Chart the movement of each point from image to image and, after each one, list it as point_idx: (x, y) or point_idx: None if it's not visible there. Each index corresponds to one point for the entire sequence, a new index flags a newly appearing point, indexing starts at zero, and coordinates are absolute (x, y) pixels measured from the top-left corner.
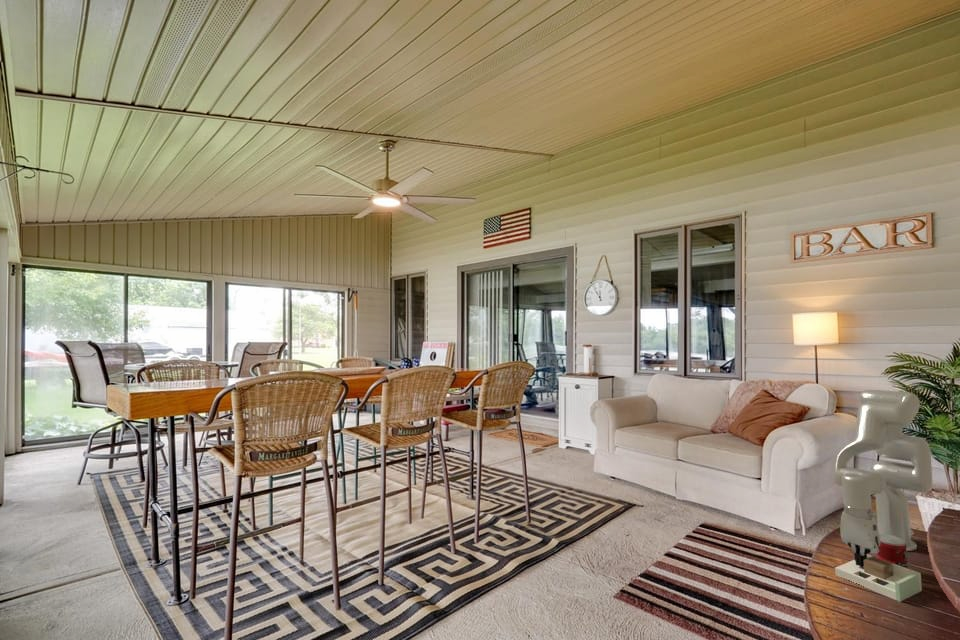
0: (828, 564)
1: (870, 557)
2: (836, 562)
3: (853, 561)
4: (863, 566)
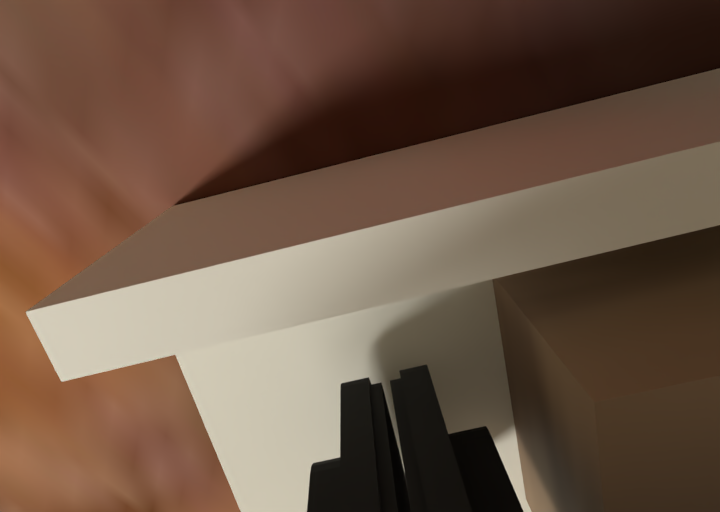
0: (83, 502)
1: (611, 509)
2: (38, 380)
3: (214, 377)
4: (396, 374)
